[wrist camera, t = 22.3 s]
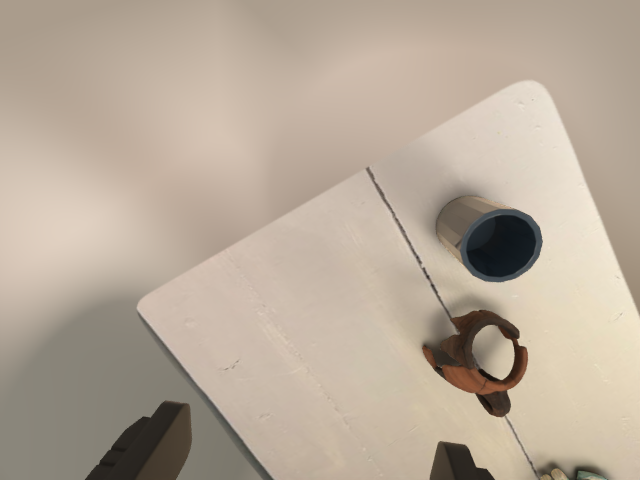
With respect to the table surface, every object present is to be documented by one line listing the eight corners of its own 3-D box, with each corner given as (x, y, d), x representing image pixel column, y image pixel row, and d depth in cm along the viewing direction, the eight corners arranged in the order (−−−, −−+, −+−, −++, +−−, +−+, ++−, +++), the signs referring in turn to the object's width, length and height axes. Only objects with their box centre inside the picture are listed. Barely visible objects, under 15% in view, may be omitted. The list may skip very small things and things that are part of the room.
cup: (424, 238, 34) (446, 263, 26) (455, 185, 32) (488, 195, 24) (475, 262, 34) (511, 294, 26) (509, 211, 32) (559, 229, 25)
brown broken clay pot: (403, 329, 38) (440, 339, 30) (459, 292, 40) (508, 291, 32) (452, 418, 37) (504, 452, 29) (507, 374, 39) (569, 395, 31)
